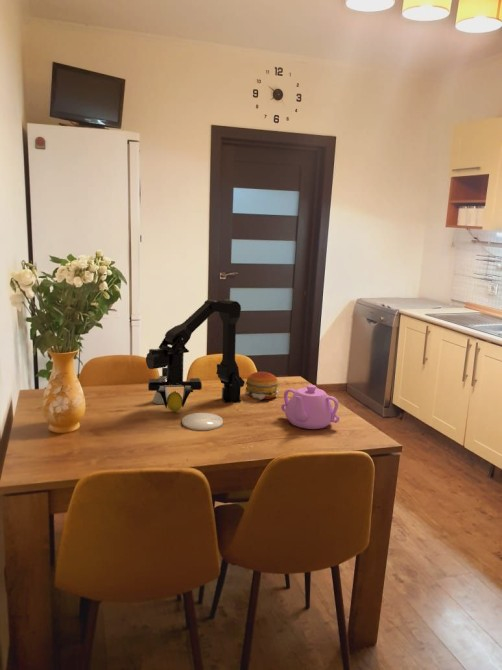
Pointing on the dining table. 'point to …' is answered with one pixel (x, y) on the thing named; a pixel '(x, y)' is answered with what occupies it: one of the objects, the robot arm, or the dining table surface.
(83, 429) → the dining table surface
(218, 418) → the plate
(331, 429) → the dining table surface
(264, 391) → the burger
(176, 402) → the lemon
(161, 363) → the robot arm
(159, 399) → the flask
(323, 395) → the teapot
